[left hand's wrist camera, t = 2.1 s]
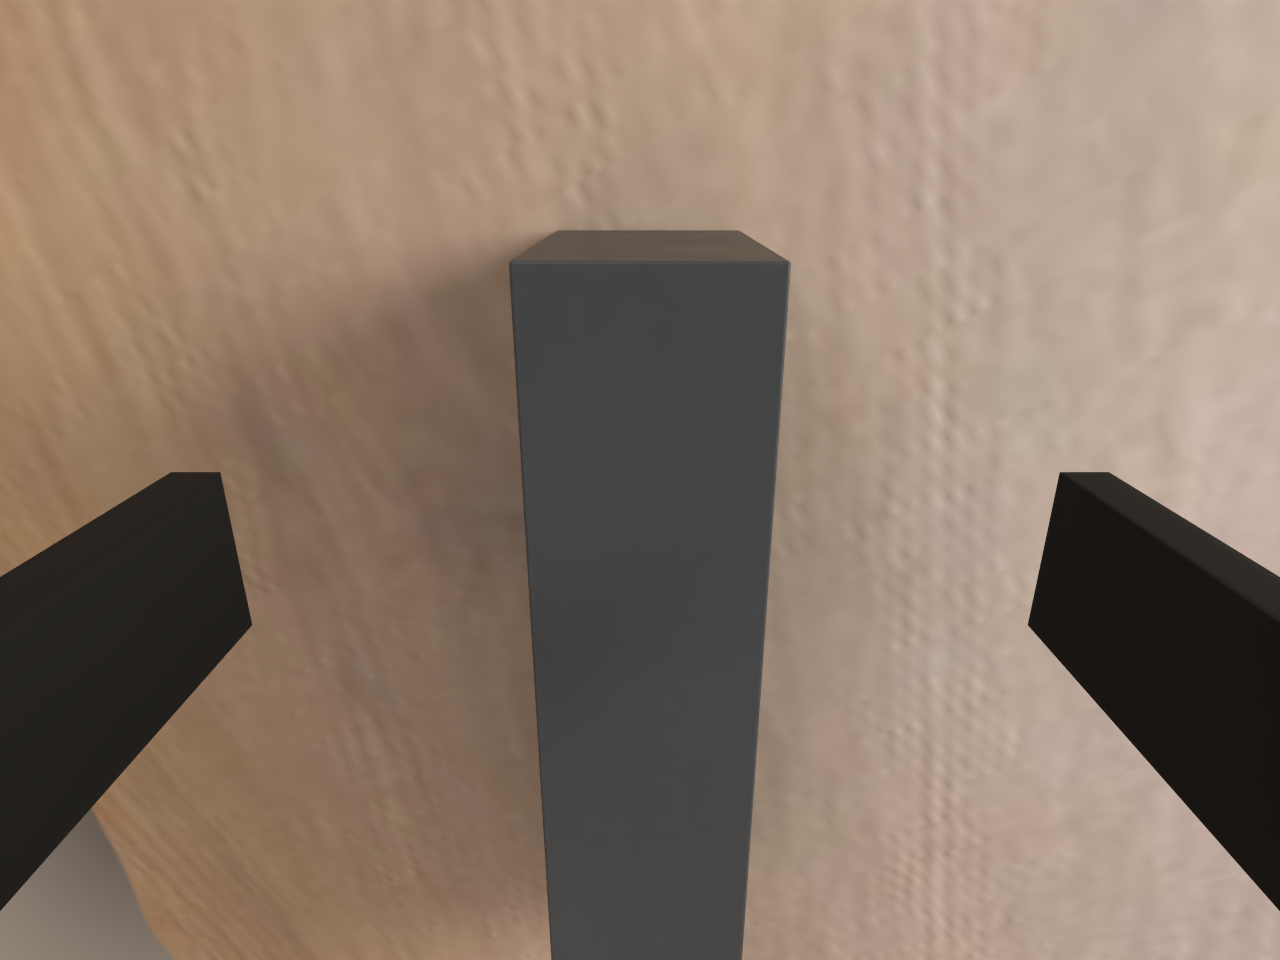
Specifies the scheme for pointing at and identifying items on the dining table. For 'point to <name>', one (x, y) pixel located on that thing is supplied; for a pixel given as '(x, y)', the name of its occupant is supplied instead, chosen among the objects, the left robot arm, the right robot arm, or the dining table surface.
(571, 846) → the bar
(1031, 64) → the dining table surface
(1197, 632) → the left robot arm
